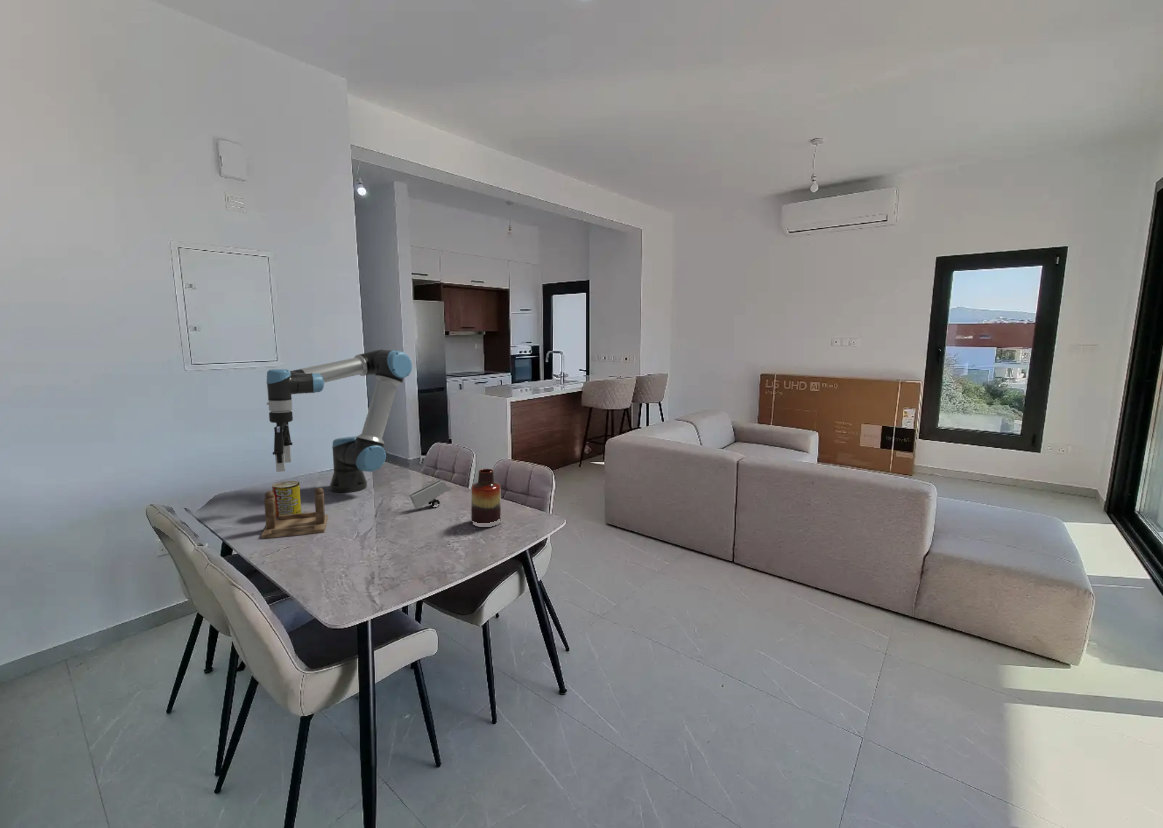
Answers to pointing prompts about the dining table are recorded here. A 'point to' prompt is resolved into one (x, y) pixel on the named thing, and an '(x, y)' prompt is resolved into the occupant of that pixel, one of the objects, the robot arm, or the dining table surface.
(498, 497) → the vase
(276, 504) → the beverage can
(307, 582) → the dining table surface
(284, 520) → the knobbed wooden cradle
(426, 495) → the grey toy trailer
